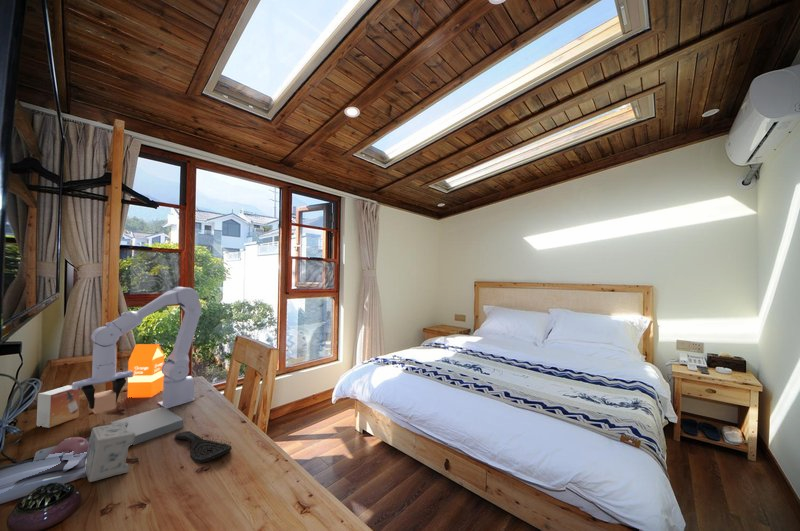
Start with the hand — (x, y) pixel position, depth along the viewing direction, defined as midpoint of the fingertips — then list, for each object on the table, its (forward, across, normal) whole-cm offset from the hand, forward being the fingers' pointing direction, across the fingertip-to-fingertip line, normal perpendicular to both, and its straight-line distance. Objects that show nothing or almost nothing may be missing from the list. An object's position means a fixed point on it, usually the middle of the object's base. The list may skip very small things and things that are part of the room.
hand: (103, 404), depth 102 cm
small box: (+6, +8, -13) cm, 17 cm away
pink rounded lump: (+6, +11, +20) cm, 24 cm away
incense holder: (+6, +6, +33) cm, 34 cm away
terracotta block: (+1, 0, 0) cm, 1 cm away
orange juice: (+6, -17, -18) cm, 25 cm away
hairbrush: (+7, -12, +40) cm, 42 cm away
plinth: (+6, -7, +16) cm, 18 cm away
